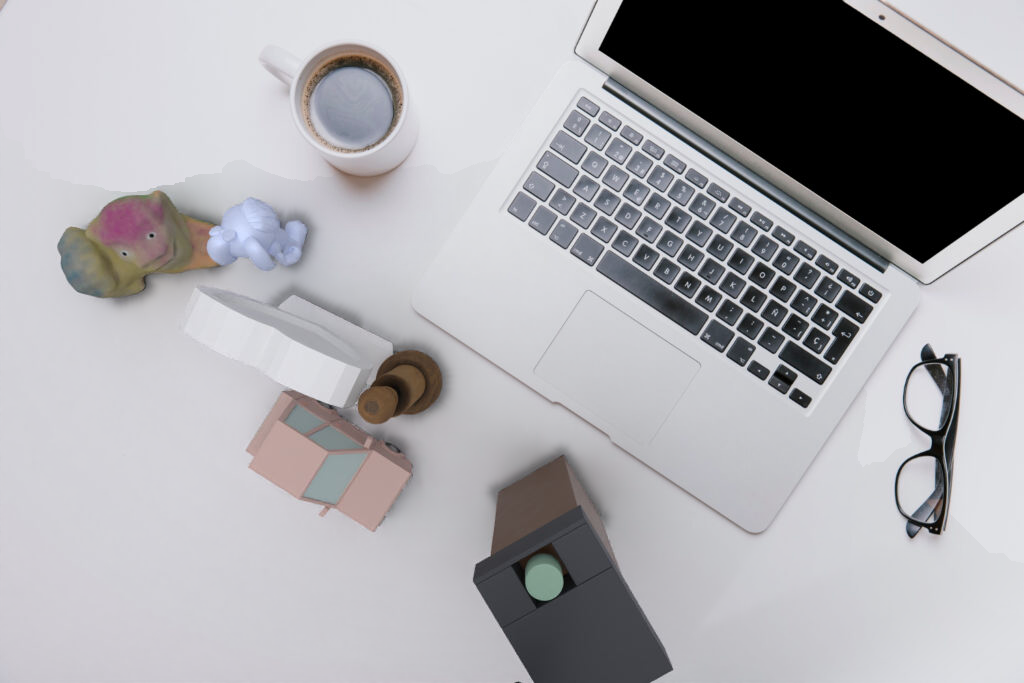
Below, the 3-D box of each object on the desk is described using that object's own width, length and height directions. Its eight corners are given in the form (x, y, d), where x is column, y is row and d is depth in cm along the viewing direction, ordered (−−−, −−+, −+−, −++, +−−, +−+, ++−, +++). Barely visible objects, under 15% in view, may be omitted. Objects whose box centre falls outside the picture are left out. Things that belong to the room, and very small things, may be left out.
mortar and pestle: (373, 403, 70) (322, 437, 52) (387, 343, 70) (340, 357, 52) (434, 418, 70) (404, 457, 52) (448, 358, 70) (423, 377, 52)
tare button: (568, 577, 48) (570, 589, 46) (536, 595, 48) (537, 608, 46) (550, 546, 47) (551, 557, 45) (518, 564, 48) (518, 575, 46)
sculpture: (109, 316, 70) (40, 318, 60) (74, 241, 70) (-1, 231, 60) (235, 259, 70) (187, 252, 60) (200, 183, 69) (146, 163, 59)
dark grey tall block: (622, 545, 71) (674, 670, 47) (549, 587, 71) (562, 731, 47) (562, 444, 70) (584, 517, 46) (489, 486, 71) (472, 580, 47)
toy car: (379, 526, 71) (356, 563, 61) (258, 449, 71) (214, 473, 61) (427, 453, 71) (411, 479, 61) (304, 375, 70) (268, 387, 60)
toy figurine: (318, 215, 69) (276, 197, 57) (311, 277, 70) (267, 272, 58) (253, 206, 69) (197, 186, 57) (245, 267, 70) (188, 260, 58)
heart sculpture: (409, 351, 69) (363, 363, 51) (388, 395, 70) (335, 421, 52) (276, 286, 70) (184, 275, 52) (256, 329, 70) (157, 333, 52)
